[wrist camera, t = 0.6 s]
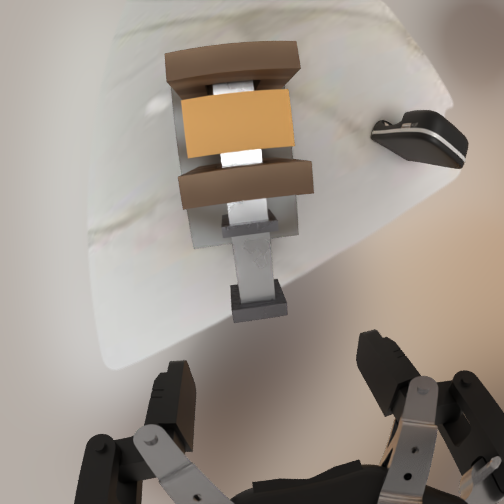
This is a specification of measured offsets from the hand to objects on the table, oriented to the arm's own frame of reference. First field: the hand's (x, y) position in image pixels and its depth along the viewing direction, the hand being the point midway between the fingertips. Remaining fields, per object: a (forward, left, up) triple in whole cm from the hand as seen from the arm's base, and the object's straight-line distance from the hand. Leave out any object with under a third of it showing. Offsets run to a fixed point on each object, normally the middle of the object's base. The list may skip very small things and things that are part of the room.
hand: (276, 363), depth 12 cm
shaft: (-6, 0, -14) cm, 15 cm away
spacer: (-11, 0, -16) cm, 19 cm away
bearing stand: (-9, 0, -22) cm, 23 cm away
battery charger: (-10, +20, -22) cm, 31 cm away
